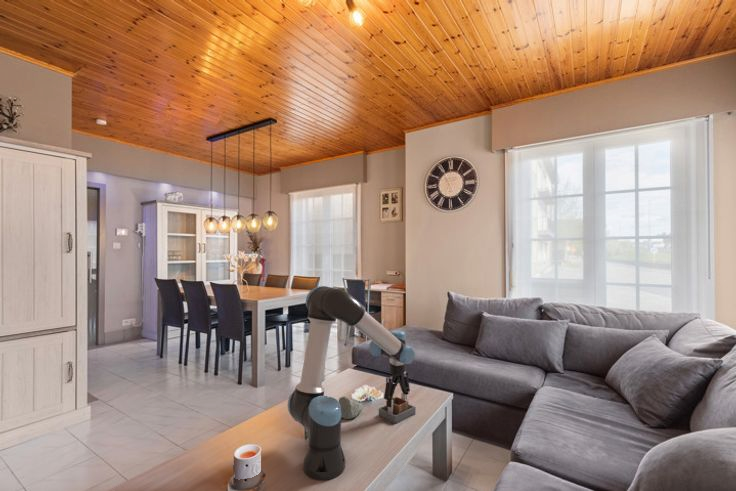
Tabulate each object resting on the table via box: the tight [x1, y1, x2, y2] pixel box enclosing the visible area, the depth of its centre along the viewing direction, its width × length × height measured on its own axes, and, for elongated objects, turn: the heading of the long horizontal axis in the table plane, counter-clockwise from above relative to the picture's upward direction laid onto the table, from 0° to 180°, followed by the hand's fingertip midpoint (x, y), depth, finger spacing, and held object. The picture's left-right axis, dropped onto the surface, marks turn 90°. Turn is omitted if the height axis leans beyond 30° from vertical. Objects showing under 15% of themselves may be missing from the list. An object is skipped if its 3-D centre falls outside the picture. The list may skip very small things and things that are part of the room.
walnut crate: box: [385, 396, 409, 415], centre depth 166 cm, size 7×8×6 cm
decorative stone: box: [338, 395, 364, 420], centre depth 165 cm, size 13×11×10 cm
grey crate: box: [378, 403, 417, 425], centre depth 166 cm, size 14×11×4 cm
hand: (397, 410), depth 166 cm, fingers open, 9 cm apart
